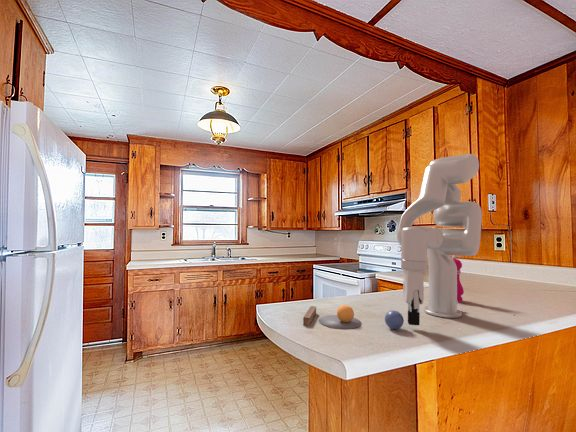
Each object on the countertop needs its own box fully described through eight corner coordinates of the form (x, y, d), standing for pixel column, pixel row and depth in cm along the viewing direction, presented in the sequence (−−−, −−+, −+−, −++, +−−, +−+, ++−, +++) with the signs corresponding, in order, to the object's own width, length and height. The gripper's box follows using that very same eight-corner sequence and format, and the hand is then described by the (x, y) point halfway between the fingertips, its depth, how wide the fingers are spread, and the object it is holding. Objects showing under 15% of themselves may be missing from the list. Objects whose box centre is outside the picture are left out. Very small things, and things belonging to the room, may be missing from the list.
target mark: (336, 313, 109) (336, 312, 109) (369, 323, 99) (369, 322, 99) (309, 320, 100) (309, 319, 100) (342, 332, 89) (342, 331, 89)
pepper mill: (466, 303, 127) (466, 256, 128) (448, 302, 129) (448, 255, 130) (460, 299, 135) (460, 254, 135) (442, 298, 136) (442, 254, 137)
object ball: (344, 302, 103) (351, 317, 102) (331, 309, 101) (338, 325, 100) (352, 302, 98) (359, 318, 97) (338, 309, 96) (346, 326, 95)
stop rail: (316, 313, 108) (316, 306, 108) (309, 325, 95) (309, 317, 95) (310, 312, 109) (310, 306, 109) (303, 325, 95) (303, 317, 95)
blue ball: (394, 305, 96) (390, 319, 98) (383, 309, 93) (379, 323, 95) (409, 315, 92) (404, 330, 94) (397, 319, 89) (393, 335, 91)
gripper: (398, 262, 102) (398, 316, 102) (404, 268, 88) (404, 331, 87) (422, 263, 101) (421, 318, 100) (432, 269, 86) (431, 333, 86)
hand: (413, 324), depth 94 cm, fingers closed
